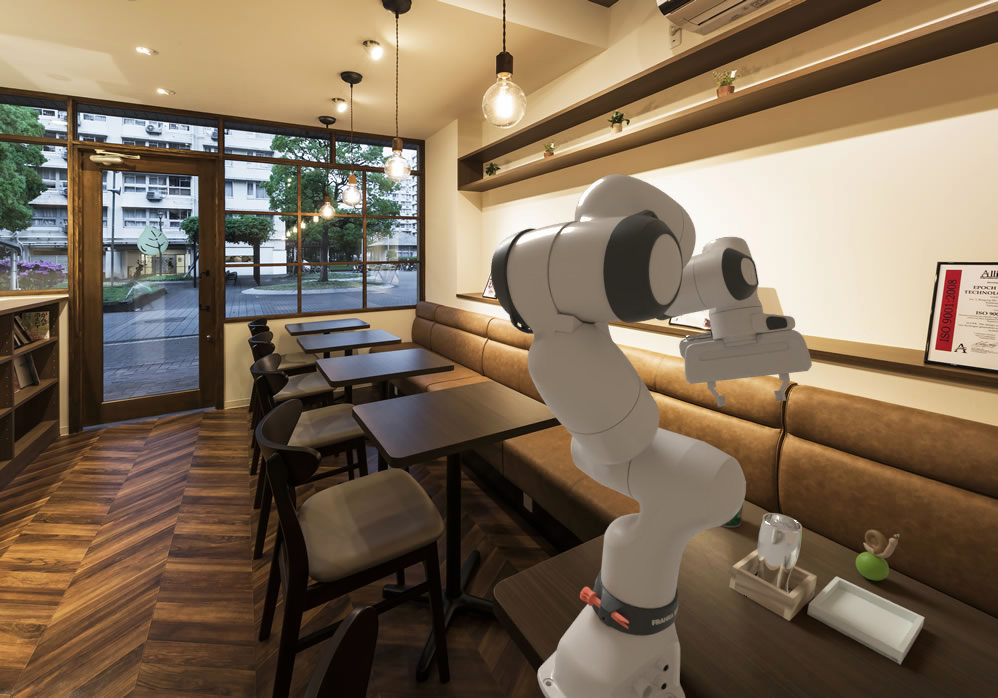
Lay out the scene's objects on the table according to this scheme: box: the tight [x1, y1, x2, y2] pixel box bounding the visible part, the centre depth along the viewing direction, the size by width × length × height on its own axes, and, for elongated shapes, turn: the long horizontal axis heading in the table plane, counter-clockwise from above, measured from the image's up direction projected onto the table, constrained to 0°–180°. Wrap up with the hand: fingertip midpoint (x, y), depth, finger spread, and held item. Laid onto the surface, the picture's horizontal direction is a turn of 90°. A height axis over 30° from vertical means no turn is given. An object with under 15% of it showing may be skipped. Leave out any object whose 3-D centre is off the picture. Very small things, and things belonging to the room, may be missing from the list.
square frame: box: [729, 547, 818, 622], centre depth 93 cm, size 11×11×4 cm
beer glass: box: [756, 512, 803, 593], centre depth 92 cm, size 7×7×15 cm
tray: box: [806, 576, 925, 665], centre depth 86 cm, size 14×14×2 cm
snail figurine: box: [855, 529, 901, 582], centre depth 97 cm, size 5×6×12 cm
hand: (750, 403), depth 85 cm, fingers open, 8 cm apart
